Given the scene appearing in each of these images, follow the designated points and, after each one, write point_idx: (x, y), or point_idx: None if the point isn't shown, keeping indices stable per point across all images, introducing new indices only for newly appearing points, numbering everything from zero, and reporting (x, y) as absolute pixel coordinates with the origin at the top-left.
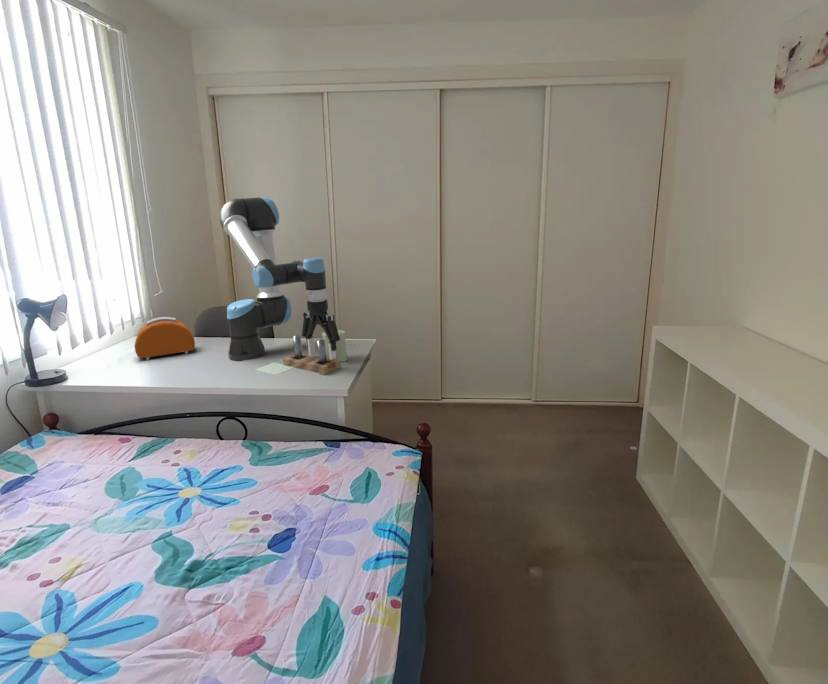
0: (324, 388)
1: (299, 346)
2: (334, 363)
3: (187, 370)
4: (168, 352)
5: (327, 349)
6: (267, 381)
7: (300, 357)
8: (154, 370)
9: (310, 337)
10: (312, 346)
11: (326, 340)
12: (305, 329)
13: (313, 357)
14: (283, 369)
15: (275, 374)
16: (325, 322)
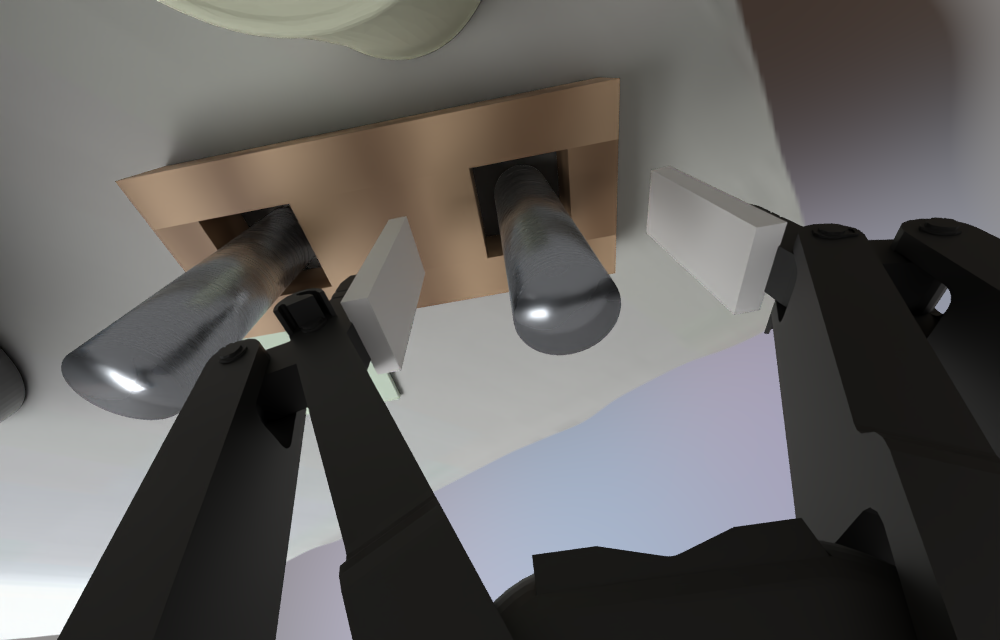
0: (724, 347)
1: (252, 312)
2: (615, 154)
3: (99, 531)
4: None
5: (392, 44)
6: (441, 434)
7: (298, 263)
8: (47, 571)
9: (354, 338)
10: (400, 275)
11: (357, 34)
12: (285, 482)
13: (353, 183)
14: None
15: (394, 397)
16: (910, 560)
